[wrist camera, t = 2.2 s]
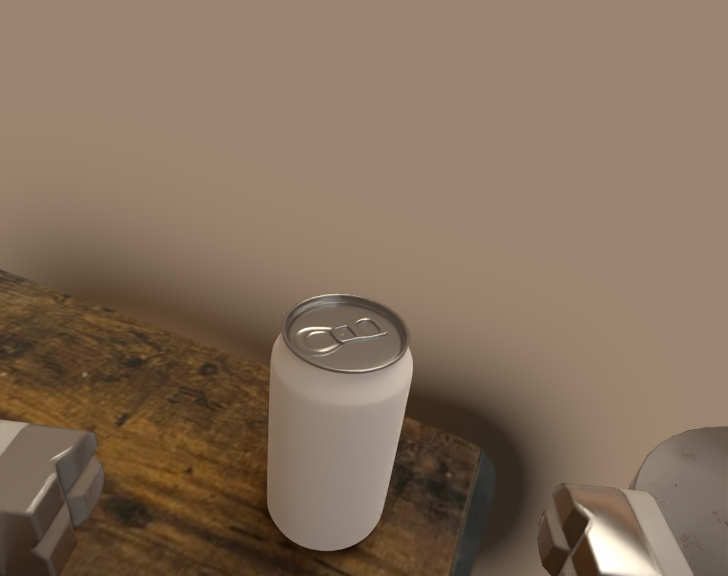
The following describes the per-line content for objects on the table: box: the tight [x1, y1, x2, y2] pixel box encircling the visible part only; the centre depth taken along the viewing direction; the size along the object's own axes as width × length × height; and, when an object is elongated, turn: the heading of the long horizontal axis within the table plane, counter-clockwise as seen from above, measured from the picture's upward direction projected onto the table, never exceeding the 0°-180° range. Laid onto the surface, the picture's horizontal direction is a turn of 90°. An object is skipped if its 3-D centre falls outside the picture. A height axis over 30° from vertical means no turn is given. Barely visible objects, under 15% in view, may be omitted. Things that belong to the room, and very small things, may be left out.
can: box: [267, 294, 413, 551], centre depth 26 cm, size 6×6×12 cm
